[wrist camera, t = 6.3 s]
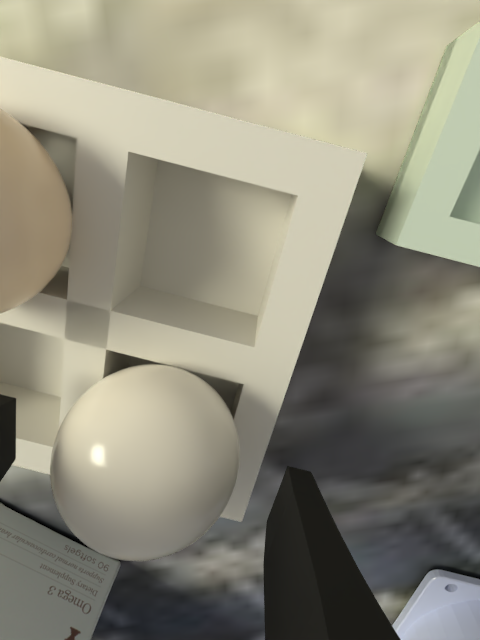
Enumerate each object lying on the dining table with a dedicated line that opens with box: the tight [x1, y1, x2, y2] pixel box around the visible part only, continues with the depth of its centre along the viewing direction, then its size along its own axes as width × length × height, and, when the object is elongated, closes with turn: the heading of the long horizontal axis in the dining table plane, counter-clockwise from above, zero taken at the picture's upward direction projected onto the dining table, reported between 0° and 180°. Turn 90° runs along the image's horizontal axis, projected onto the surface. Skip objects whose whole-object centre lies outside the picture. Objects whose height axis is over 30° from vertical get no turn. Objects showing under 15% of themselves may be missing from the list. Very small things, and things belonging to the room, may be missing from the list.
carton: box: [0, 57, 367, 522], centre depth 11 cm, size 12×12×3 cm
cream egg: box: [50, 364, 240, 561], centre depth 10 cm, size 5×5×5 cm
